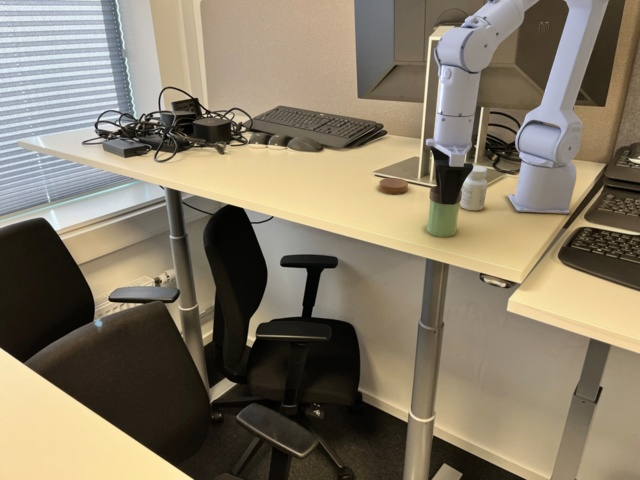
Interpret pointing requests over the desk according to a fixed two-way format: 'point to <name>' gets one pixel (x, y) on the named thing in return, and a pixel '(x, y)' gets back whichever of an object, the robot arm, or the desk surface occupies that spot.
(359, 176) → the desk surface
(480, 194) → the pill bottle
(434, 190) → the brown round lid
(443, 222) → the plastic cup
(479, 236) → the desk surface
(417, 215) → the desk surface
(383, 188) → the teak chip
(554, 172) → the robot arm
